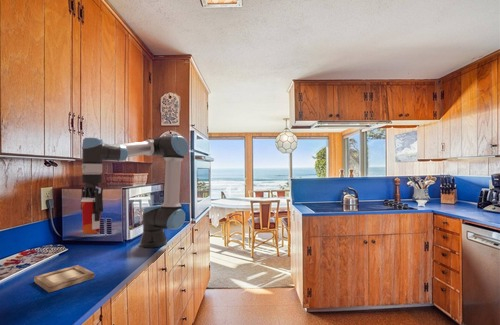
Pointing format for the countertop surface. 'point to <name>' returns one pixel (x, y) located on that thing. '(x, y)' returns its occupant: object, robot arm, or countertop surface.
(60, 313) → the countertop surface
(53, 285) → the square tray
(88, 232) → the coffee cup
